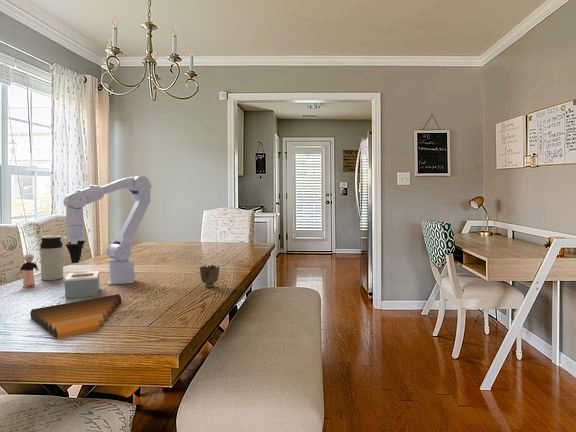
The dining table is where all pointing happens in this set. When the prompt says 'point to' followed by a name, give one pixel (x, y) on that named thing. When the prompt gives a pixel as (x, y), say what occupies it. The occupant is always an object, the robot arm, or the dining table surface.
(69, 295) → the coin box
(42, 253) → the travel mug
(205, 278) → the cup
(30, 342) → the dining table surface
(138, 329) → the dining table surface
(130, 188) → the robot arm
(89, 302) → the pan flute
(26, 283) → the grandmother figurine
